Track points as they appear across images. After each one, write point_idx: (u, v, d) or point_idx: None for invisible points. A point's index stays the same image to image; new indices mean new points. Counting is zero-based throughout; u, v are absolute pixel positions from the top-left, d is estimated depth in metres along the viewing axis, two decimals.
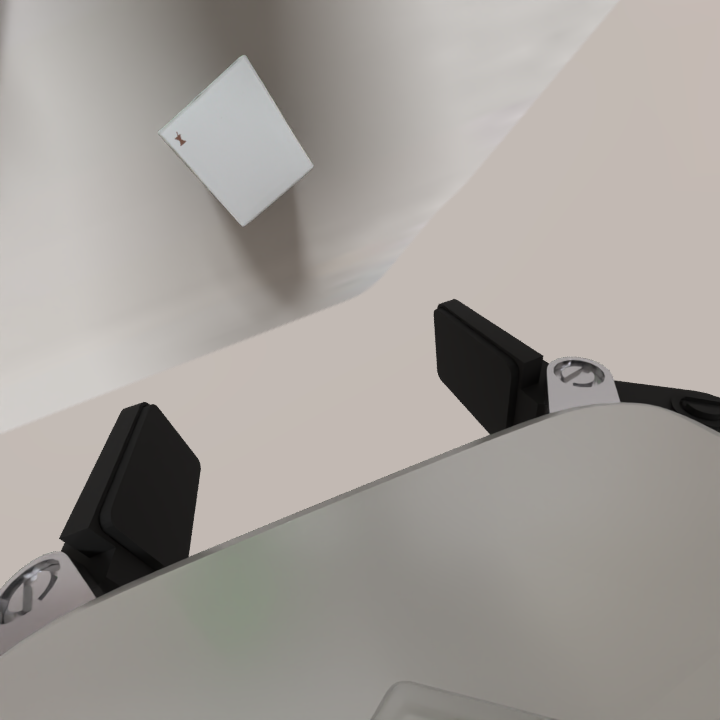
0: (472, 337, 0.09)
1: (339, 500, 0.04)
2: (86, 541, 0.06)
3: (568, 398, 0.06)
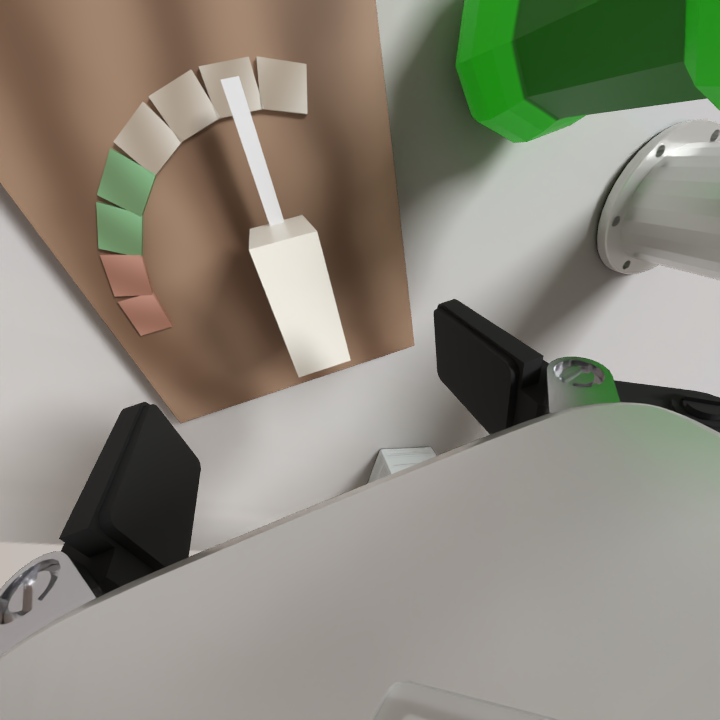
0: (472, 337, 0.09)
1: (339, 500, 0.04)
2: (86, 541, 0.06)
3: (568, 398, 0.06)
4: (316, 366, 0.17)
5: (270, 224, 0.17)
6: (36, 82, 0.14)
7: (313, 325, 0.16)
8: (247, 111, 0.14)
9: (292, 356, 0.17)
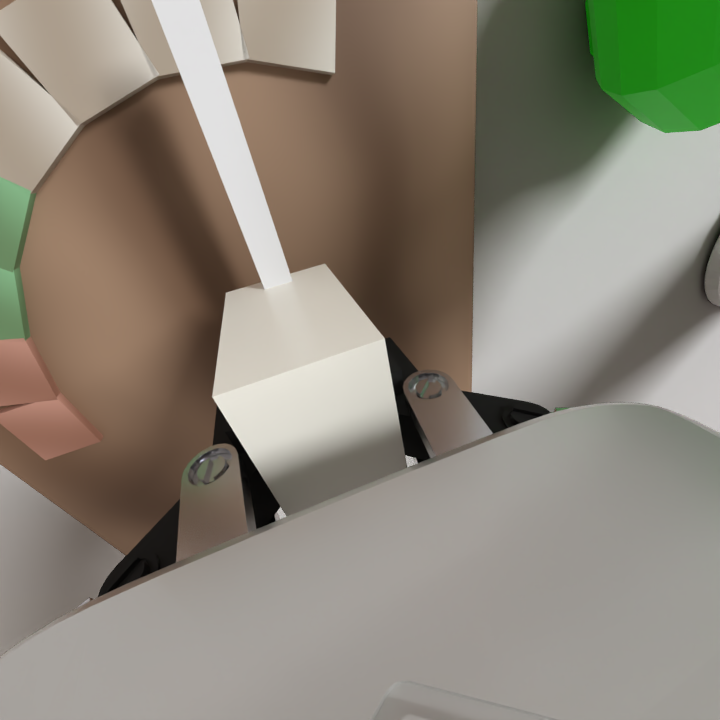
0: None
1: (339, 500, 0.04)
2: None
3: (432, 412, 0.07)
4: None
5: (265, 287, 0.09)
6: None
7: None
8: (209, 48, 0.06)
9: None
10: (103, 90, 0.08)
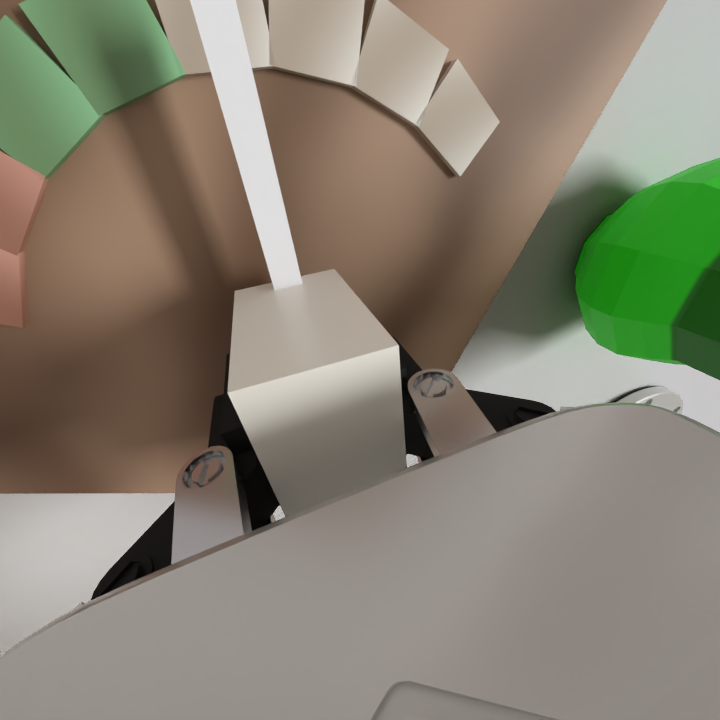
0: None
1: (339, 500, 0.04)
2: (237, 439, 0.07)
3: (436, 411, 0.07)
4: None
5: (275, 288, 0.09)
6: None
7: None
8: (242, 54, 0.06)
9: None
10: (310, 61, 0.08)
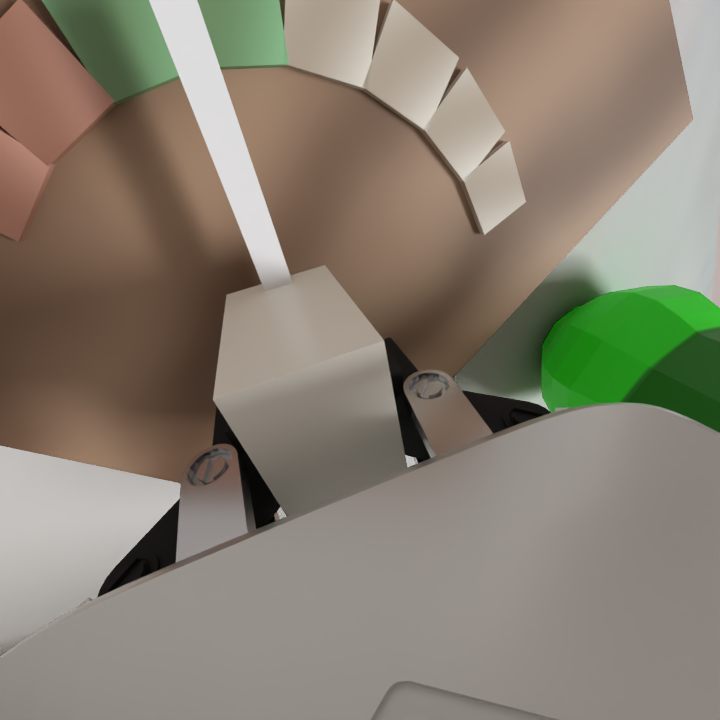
0: None
1: (339, 500, 0.04)
2: None
3: (432, 412, 0.07)
4: None
5: (266, 289, 0.09)
6: None
7: None
8: (208, 52, 0.06)
9: None
10: (396, 97, 0.09)
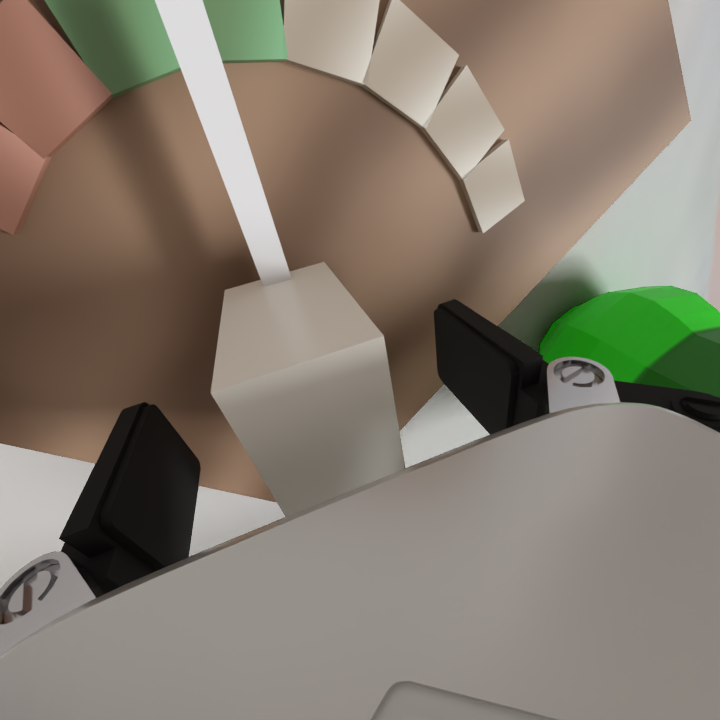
0: (472, 337, 0.09)
1: (339, 500, 0.04)
2: (86, 541, 0.06)
3: (568, 398, 0.06)
4: None
5: (264, 284, 0.09)
6: None
7: None
8: (210, 44, 0.06)
9: None
10: (396, 94, 0.09)
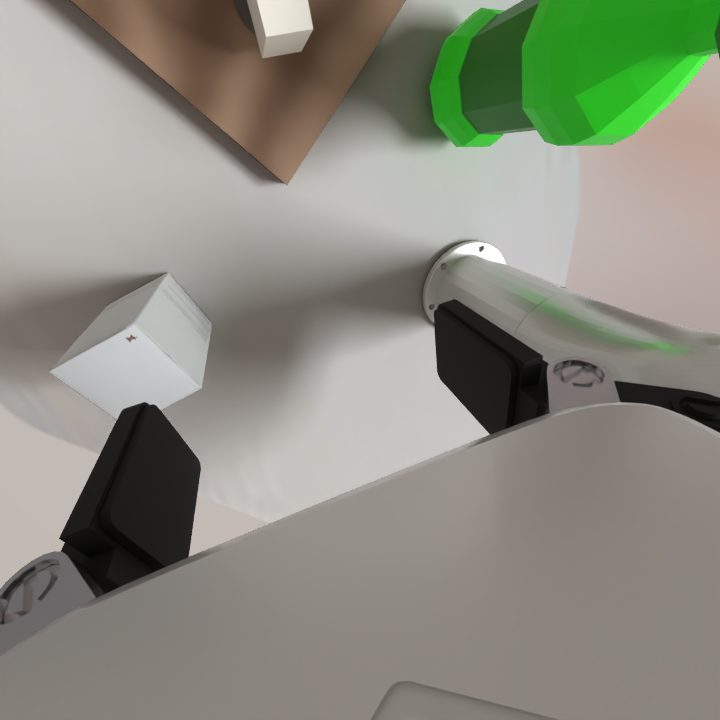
0: (472, 337, 0.09)
1: (339, 500, 0.04)
2: (86, 541, 0.06)
3: (568, 398, 0.06)
4: (282, 27, 0.19)
5: None
6: None
7: None
8: None
9: (259, 3, 0.19)
10: None
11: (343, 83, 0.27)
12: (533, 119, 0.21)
